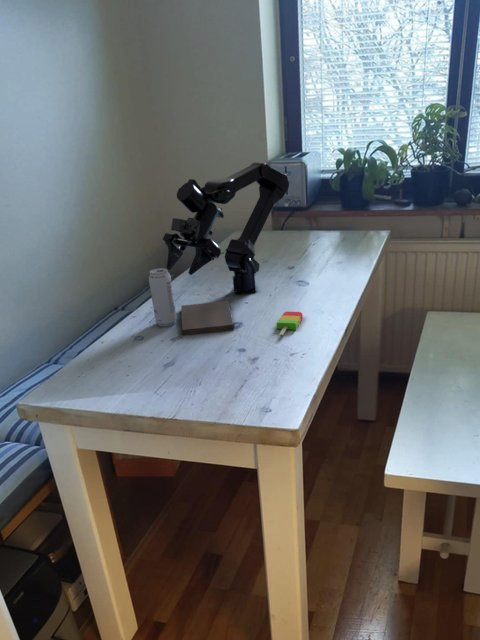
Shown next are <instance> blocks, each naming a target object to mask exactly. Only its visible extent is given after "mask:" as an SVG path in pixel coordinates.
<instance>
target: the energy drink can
mask: <svg viewBox="0 0 480 640" xmlns="http://www.w3.org/2000/svg"><path fill="white" fill-rule="evenodd" d="M168 271H169V270H168V269H167V268H164V267H159V268H154V269H151V270H149V276H148V284H149V289H150V290H149V291H150V295H151V301H152V308H153V314H154V320H155V323H156V324H157V325H158V326H159V327H170V326H173V325H175V324H176V321H177V319H178V318H177V317H178V316H177V311H176V305H175V298H174V297H175V296H174V289H173V284H172V283H173V282H172V277H171V274H170V272H168Z"/></svg>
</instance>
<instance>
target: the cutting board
mask: <svg viewBox="0 0 480 640" xmlns="http://www.w3.org/2000/svg"><path fill="white" fill-rule="evenodd" d="M180 308H181V331H182V336H187V335H196V334H206V333H215V332H224V331H234V330H235V325H234V321H233V317H232V312H231V309H230V308H231V307H230V304H229V300H224V301H214V302H204V303H203V302H202V303H195V304H194V303H193V304H184V305H183V304H182V305H181V306H180Z"/></svg>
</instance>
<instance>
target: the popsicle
mask: <svg viewBox="0 0 480 640" xmlns="http://www.w3.org/2000/svg"><path fill="white" fill-rule="evenodd" d="M302 320H303V312H301V311H284V312H283V313H282V314H281V316H280V318H279V319H278V321H277V322H276V323H275V325H276V329H277V330H280V332H279V334H278V335H279V336H284V334H285V333H286V331H287V330H288V331H289V330H290V331H291V330H292V331H296V330H297V328H298V327H299V325H300V324H301V322H302Z"/></svg>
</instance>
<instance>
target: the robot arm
mask: <svg viewBox="0 0 480 640" xmlns="http://www.w3.org/2000/svg"><path fill="white" fill-rule="evenodd" d="M255 182H256V184H258V185H259V186H258V193H259V198H258V199H257V201H256V204H255V206H254V208H253V210H252V212H251V214H250V216H249V217H248V220H247V222H246V224H245V226H244V228H243V230H242V232H241V234H240V236H239V237H238V238H237V239H234V238H231V239H230V241H229V243H228V246H227V247H226V249H225V250H224V251H225V254H224V260H225V264H226V266H227V268H228V271H229V272H233V275H232V287H233V291H234V292H235V294H236V295H241V294H252V293H257V287H256V275H255V274H257V273H258V272H259V270H260V263H259V262H258V261H257V260H256V259H255V255H256V250H255V244H256V243H257V240H258V238H259V236H260V234H261V232H262V230H263V228H264V226H265V224H266V222H267V219H268V218H269V217H270V216H269V215H270V214H271V212H272V210H273V207H274V205H276V204H277V203H278V202H280V201H281V200H282V199H283V198H284V197H285V195H286V194H287V192H288V190H289V186H290V181H289V178H288V176H287V175H286V174H285V173H282V172H281V171H278V170H276V169H274V168H272V167H271V166H270V165H269V164H267V163H266V162H252V163H251V164H250V165H249V166H246V167H245V168H243V169H241V170H239V171H237V172H234V173H233V174H231V175H229V176H227V177H224V178H216V179H212V180H208V181H207V182H205V184H204V186H202V187H201V186H200V185H199V183H198V182H197V181H196V179H194V178H189V179H188V181H187V182H185V183H184V184H182V185H181V186H180V187H179V188H178V189H177V191H176V198H177V200H178V201H179V202H180V203H181V205H184V207H185V208H186V209H187V210H188V211H189V212H190V213H193V214H194V215H193V217H188V218H187V219H182V218H177V217H173V218H172V219H171V224H170V225H171V226H170V231H176V232H178V233H179V234H178V233H176V232H170V231H168V232H165V233H164V235H163V236H162V237H163V238H162V241H163V242H164V244H165V245H166V246H167V261H166V269H167V270H168V271H170V270H172V268H174V267H175V265H176V264H177V263H178V261H179V260H180V258H182V256H183V255H184V251H185V250H186V249H187V248H190V249H194V250H195V255H194V257H193V260H192V262H191V264H190V266H189V269H188V274H189V275H190V276H192V275H193V274H195V273H196V272H197V271H199V270H200V269H201V268H203V267H204V266H206V265H207V264H209V263H210V262H212V261H215V259H219V258H220V256H221V253H222V250H221V247H220V246H219V245H218V244H217V243H216V242H215V241H214V240H213V239H212V238H208V237H209V236H212V235H213V234H214V232H213V231H212V228H213V227H214V224H215V221H216V220H217V218H218V219H224V217H225V216H224V212H223V208H222V207H218V206H217V205H216V204H218V205H219V204H220V205H226V204H228V203H229V202H231V201H232V200H233V199H234V198H235V196H236V194H237V192H239V191H241V190H243V189H245V188H246V187H248V186H250V185H252V184H254V183H255Z"/></svg>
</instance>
